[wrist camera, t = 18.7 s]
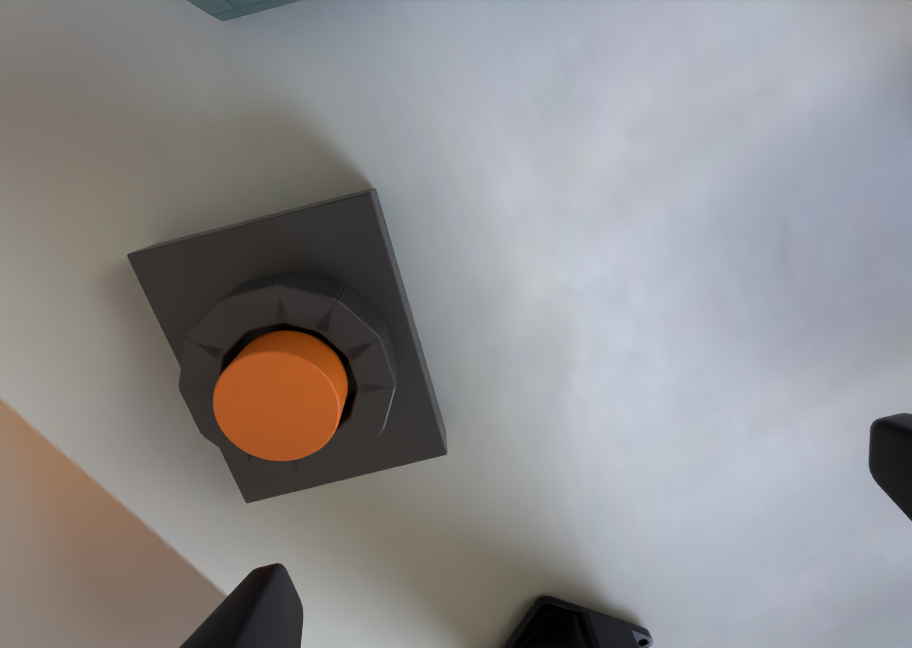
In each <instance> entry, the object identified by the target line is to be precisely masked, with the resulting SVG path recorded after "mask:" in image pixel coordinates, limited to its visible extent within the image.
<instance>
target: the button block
mask: <svg viewBox="0 0 912 648" xmlns="http://www.w3.org/2000/svg"><path fill="white" fill-rule="evenodd" d="M127 257H128V259H129V261H130V263H131V265H132V267H133V269H134V271H135V273H136V275H137V277H138V279H139V282H140V284H141V286H142V288H143V290H144V292H145V294H146V296H147V298H148V300H149V302H150V304H151V307H152V309H153V311H154V313H155V315H156V317H157V319H158V321H159V323H160V325H161V327H162V329H163V331H164V334H165V336H166V338H167V340H168V342H169V344H170V346H171V348H172V350H173V352H174V354H175V356H176V358H177V361H178V363H179V365H180V367H181V372H180V380H179V388H180V392H181V394H182V396H183V398H184V400H185V402H186V404H187V406H188V408H189V410H190V412H191V414H192V416H193V418H194V421H195V423H196V425H197V427H198V429H199V431H200V433H201V434H203V436H204V437H205V438H207V439H208V440H209V441H211V442H212V443H214V444H215V445H216V446H218V447H219V448H220V450H221V452H222V454H223V456H224V458H225V460H226V462H227V464H228V467H229V469H230V471H231V473H232V475H233V477H234V479H235V481H236V483H237V485H238V487H239V489H240V492H241V494H242V496H243V498H244V500H245V502H246V503H250V502H254V501H258V500H262V499H267V498H271V497H275V496H279V495H283V494H287V493H291V492H295V491H299V490H303V489H308V488H312V487H316V486H320V485H324V484H328V483H332V482H336V481H340V480H344V479H349V478H353V477H357V476H361V475H365V474H369V473H373V472H377V471H381V470H385V469H390V468H394V467H398V466H402V465H406V464H410V463H414V462H418V461H422V460H426V459H431V458H435V457H439V456H443V455H446V454H447V442H446V430H445V427H444V423H443V420H442V416H441V413H440V410H439V406H438V403H437V399H436V396H435V392H434V389H433V385H432V382H431V378H430V375H429V371H428V368H427V365H426V361H425V358H424V354H423V351H422V347H421V344H420V340H419V337H418V333H417V330H416V326H415V323H414V320H413V316H412V313H411V309H410V306H409V302H408V299H407V295H406V292H405V288H404V285H403V281H402V278H401V275H400V271H399V268H398V264H397V261H396V257H395V254H394V250H393V247H392V243H391V240H390V236H389V233H388V230H387V226H386V223H385V219H384V216H383V212H382V209H381V205H380V202H379V198H378V195H377V191H376V189H375V188H373V189H369V190H365V191H361V192H357V193H353V194H349V195H346V196H342V197H338V198H334V199H330V200H326V201H322V202H318V203H314V204H310V205H307V206H303V207H299V208H295V209H291V210H287V211H283V212H279V213H275V214H271V215H268V216H264V217H260V218H256V219H252V220H248V221H244V222H240V223H236V224H233V225H229V226H225V227H221V228H217V229H213V230H209V231H205V232H201V233H197V234H194V235H190V236H186V237H182V238H178V239H174V240H170V241H166V242H162V243H158V244H155V245H152V246H149V247H146V248H143V249H141V250H138V251H135V252H132V253H130V254H128V255H127ZM285 330H287V331H297V332H302V333H306V334H309V335H311V336H314V337H316V338H318V339H319V340H321V341H323V342H324V343H326V344H327V345H328V346H329V347H330V348H331V349H332V350H333V351H334V352H335V353H336V354H337V355H338V357H339V358H340V360H341V361H342V363H343V365H344V367H345V370H346V373H347V378H348V392H347V397H346V400H345V404H344V407H343V410H342V414H341V417H340V420H339V423H338V426H337V429H336V431H335V433H334V435H333V436H332V437H331V439H330V440H329V441H328V442H327V443H326V444H325V445H324V446H323V447H322V448H320V449H319V450H318V451H316V452H314V453H313V454H311V455H308V456H306V457H303V458H300V459H296V460H291V461H273V460H266V459H262V458H259V457H256V456H253V455H251V454H249V453H247V452H245V451H243V450H242V449H240V448H239V447H237V446H236V445H235V444H234V443H232V442H231V441H230V440H229V439H228V438H227V437H226V435H225V434H224V433H223V431H222V430H221V428H220V426H219V425H218V423H217V420H216V417H215V414H214V410H213V393H214V389H215V386H216V383H217V381H218V379H219V377H220V376H221V374H222V373H223V371H224V370H225V369H226V368H227V367H228V366H229V365H230V363H231V362H232V361H233V360H234V359H235V358H236V357H237V356H238V354H239V353H240V352H241V351H242V350H243V349H244V348H245V347H246V346H247V345H248V344H249V343H250V342H251V341H253V340H254V339H256V338H258V337H260V336H262V335H264V334H267V333H270V332H275V331H285Z"/></svg>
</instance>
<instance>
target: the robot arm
mask: <svg viewBox="0 0 912 648" xmlns="http://www.w3.org/2000/svg"><path fill="white" fill-rule="evenodd" d="M869 469H870V472H871V474H872V477H873V478H874V480H875V481H876V483H877V484H878V485H879V486H880V487H881V488H882V489H883V490H884V492H885V493H886V494H887V495H888V496H889V497H890V498H891V499H892V500H893V501H894V502H895V503H896V505H897V506H898V507H899V508H900V509H901V510H902V511H903V512H904V513H905V514H906V515H907V517H908V518H909V519H910V520H911V521H912V414H908V413H901V414H896V415H891V416H887V417H883V418H879V419H877V420H875V421H874V422H873V423H872V425H871V428H870V444H869ZM302 627H303V607H302V603H301V600H300V598H299V596H298V593H297V591H296V589H295V587H294V585H293V583H292V580H291V578H290V576H289V574H288V572H287V570H286V568H285V567H284V566H283V565H282V564H279V563H276V564H271V565H267V566H263V567H259V568H256V569H254V570H253V571H251V572H250V573H249V574H248V575H247V576H246V578H245V579H244V580H243V581H242V582H241V583H240V584H239V585H238V586H237V587H236V588H235V589H234V590H233V591H232V592H231V593H230V594H229V596H228V597H227V598H226V599H225V600H224V601H223V602H222V603H221V604H220V605H219V606H218V607H217V608H216V609H215V611H213V613H212V614H211V615H210V616H209V617H208V618H207V619H206V620H205V621H204V622H203V623H202V624H201V625H200V626H199V627H198V628H197V629H196V631H195V632H194V633H193V634H192V635H191V636H190V637H189V638H188V639H187V640H186V641H185V642H184V643H183V644H182V645H181V646H180V648H301V637H302ZM652 643H653V639H652V637H651V635H650V633H649V631H648V630H647V629H645V628H643V627H640V626H637V625H634V624H631V623H628V622H625V621H622V620H619V619H616V618H613V617H610V616H607V615H604V614H601V613H598V612H595V611H592V610H590V609H587V608H584V607H581V606H578V605H575V604H572V603H569V602H566V601H563V600H560V599H557V598H554V597H551V596H543V597H541V598H539V599H538V600H537V601H536V602H535V604H534V605H533V606H532V608H531V609H530V611H529V612H528V614H527V615H526V617H525V618H524V619H523V621H522V622H521V624H520V625H519V627H518V628H517V629H516V631H515V632H514V634H513V635H512V637H511V638H510V639H509V641H508V642H507V644H506V645H505V647H504V648H649V647H650V646H651V644H652Z"/></svg>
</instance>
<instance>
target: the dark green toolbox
mask: <svg viewBox="0 0 912 648" xmlns="http://www.w3.org/2000/svg"><path fill="white" fill-rule="evenodd" d="M187 1H189V2H191V3H192V4H194V5H195V6H197V7H199V8H200V9H202V10H203V11H205V12H207V13H208V14H210V15H212V16H214V17H216V18H217V19H219V20H220V21H224V20H228V19H232V18H236V17H239V16H243V15H247V14H251V13H255V12H258V11H262V10H266V9H270V8H273V7H277V6H281V5H285V4H288V3H292V2H296V1H300V0H187Z"/></svg>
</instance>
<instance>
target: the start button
mask: <svg viewBox="0 0 912 648" xmlns="http://www.w3.org/2000/svg"><path fill="white" fill-rule="evenodd" d="M347 392H348V378H347V373H346V370H345V367H344V365H343V363H342V361H341V360H340V358H339V357H338V355H337V354H336V353H335V352H334V351H333V350H332V349H331V348H330V347H329V346H328V345H327V344H326V343H324V342H323V341H321V340H319V339H318V338H316V337H314V336H311V335H309V334H306V333H302V332H297V331H287V330H285V331H275V332H270V333H267V334H264V335H262V336H260V337H258V338H256V339H254V340H253V341H251V342H250V343H249V344H248V345H247V346H246V347H245V348H244V349H243V350H242V351H241V352H240V353H239V354H238V356H237V357H236V358H235V359H234V360H233V361H232V362H231V363H230V365H229V366H228V367H227V368H226V369H225V370H224V371H223V373H222V374H221V376H220V377H219V379H218V381H217V383H216V386H215V389H214V393H213V410H214V414H215V417H216V420H217V423H218V425H219V426H220V428H221V430H222V431H223V433H224V434H225V435H226V437H227V438H228V439H229V440H230V441H231V442H232V443H234V444H235V445H236V446H237V447H239V448H240V449H242V450H243V451H245V452H247V453H249V454H251V455H253V456H256V457H259V458H262V459H266V460H273V461H291V460H296V459H300V458H303V457H306V456H308V455H311V454H313V453H314V452H316V451H318V450H319V449H320V448H322V447H323V446H324V445H325V444H326V443H327V442H328V441H329V440H330V439H331V437H332V436H333V435H334V433H335V431H336V429H337V426H338V423H339V420H340V417H341V414H342V410H343V407H344V404H345V400H346V397H347Z"/></svg>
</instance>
